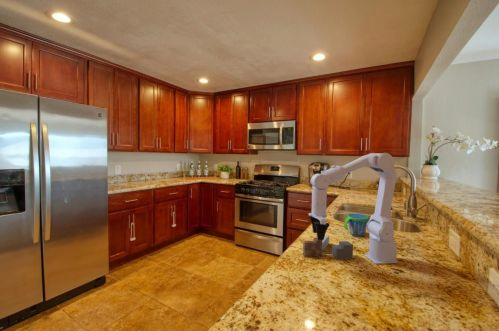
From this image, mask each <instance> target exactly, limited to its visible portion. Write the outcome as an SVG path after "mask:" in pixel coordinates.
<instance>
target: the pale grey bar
mask: <svg viewBox="0 0 499 331" xmlns="http://www.w3.org/2000/svg"><path fill="white" fill-rule="evenodd" d="M329 243H330V235H329V234H327V235H325V237H324V240H322V252H324V250H325V249H326V248H327V246H328V245H329Z"/></svg>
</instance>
